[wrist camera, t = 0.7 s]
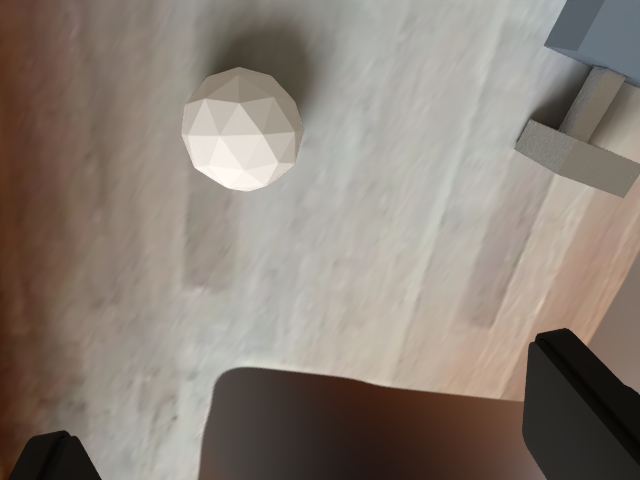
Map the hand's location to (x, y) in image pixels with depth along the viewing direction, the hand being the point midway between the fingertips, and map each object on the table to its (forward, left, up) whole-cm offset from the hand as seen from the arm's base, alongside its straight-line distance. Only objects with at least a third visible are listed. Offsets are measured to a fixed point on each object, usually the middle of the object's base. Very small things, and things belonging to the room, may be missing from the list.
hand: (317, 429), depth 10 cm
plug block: (-8, +22, -27) cm, 36 cm away
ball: (0, -2, -28) cm, 28 cm away
